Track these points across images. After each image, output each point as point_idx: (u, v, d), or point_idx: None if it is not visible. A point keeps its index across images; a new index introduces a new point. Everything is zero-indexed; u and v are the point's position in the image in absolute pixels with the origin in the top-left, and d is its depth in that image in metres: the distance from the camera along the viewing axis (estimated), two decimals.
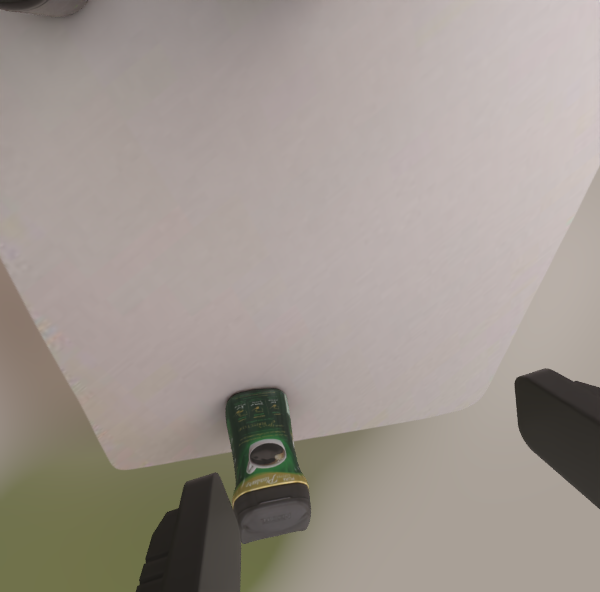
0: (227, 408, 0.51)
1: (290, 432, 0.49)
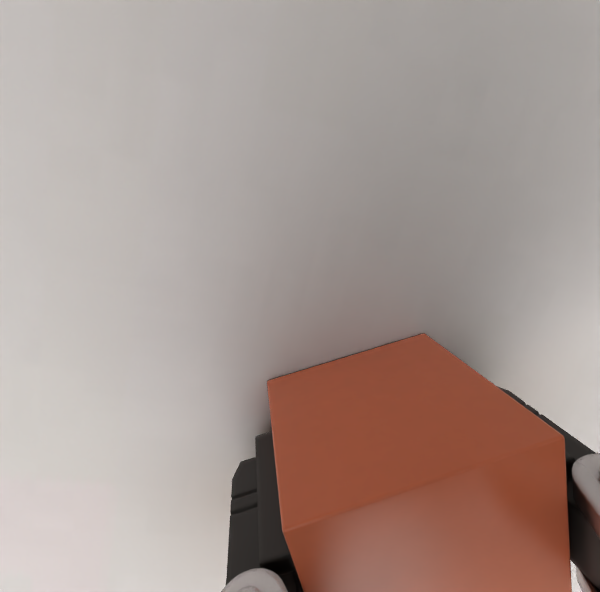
0: None
1: None
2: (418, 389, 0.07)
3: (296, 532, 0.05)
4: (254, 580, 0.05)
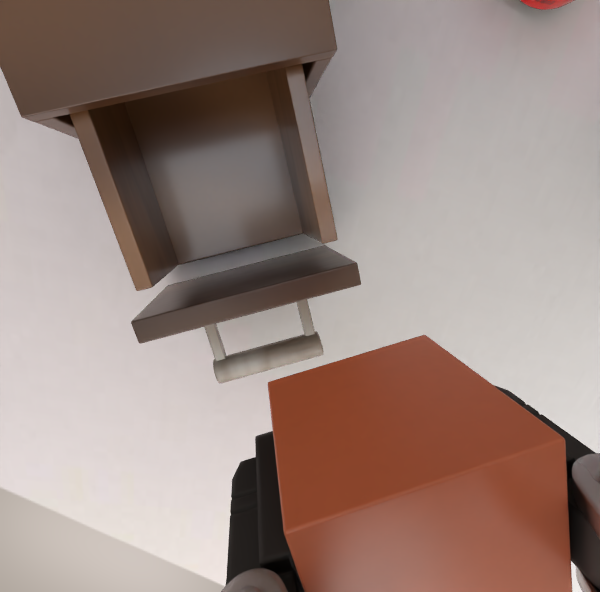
0: None
1: None
2: (419, 390, 0.07)
3: (298, 534, 0.05)
4: (254, 580, 0.05)
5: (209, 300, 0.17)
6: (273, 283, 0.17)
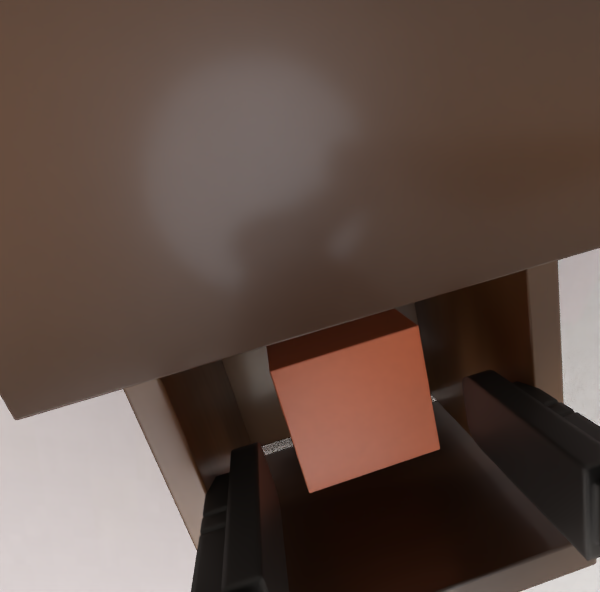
0: None
1: None
2: None
3: (277, 373, 0.10)
4: None
5: None
6: (456, 577, 0.10)
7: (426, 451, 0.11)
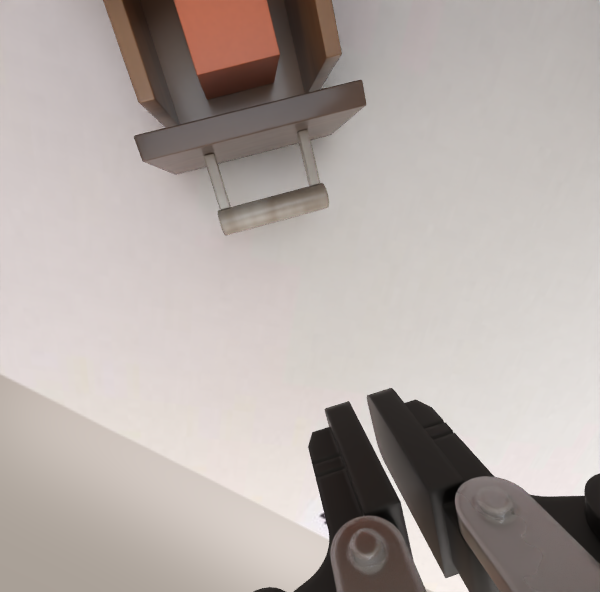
0: None
1: None
2: None
3: None
4: (366, 526, 0.06)
5: (213, 116, 0.17)
6: None
7: (271, 57, 0.19)
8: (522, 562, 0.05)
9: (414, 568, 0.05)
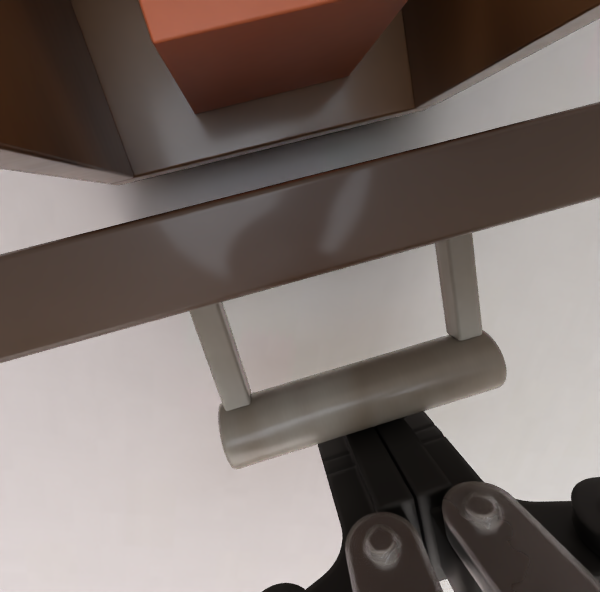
0: None
1: None
2: None
3: None
4: (380, 522, 0.06)
5: (202, 203, 0.04)
6: (454, 139, 0.04)
7: None
8: (506, 569, 0.05)
9: (430, 564, 0.05)
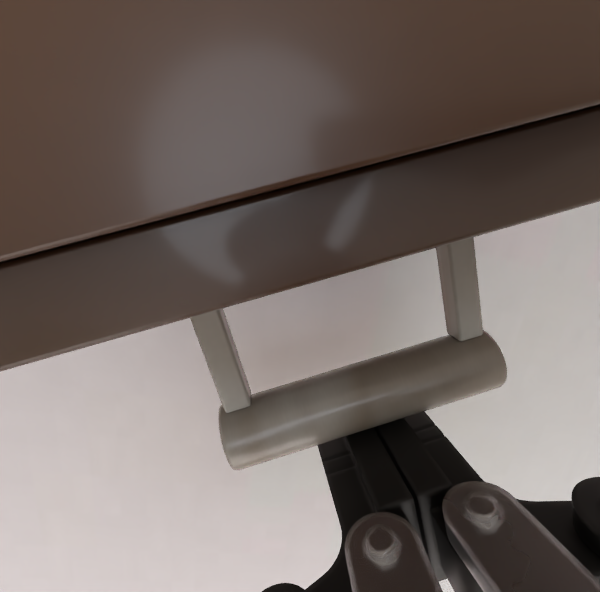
0: None
1: None
2: None
3: None
4: (380, 522, 0.06)
5: (201, 209, 0.04)
6: None
7: None
8: (507, 568, 0.05)
9: (430, 564, 0.05)
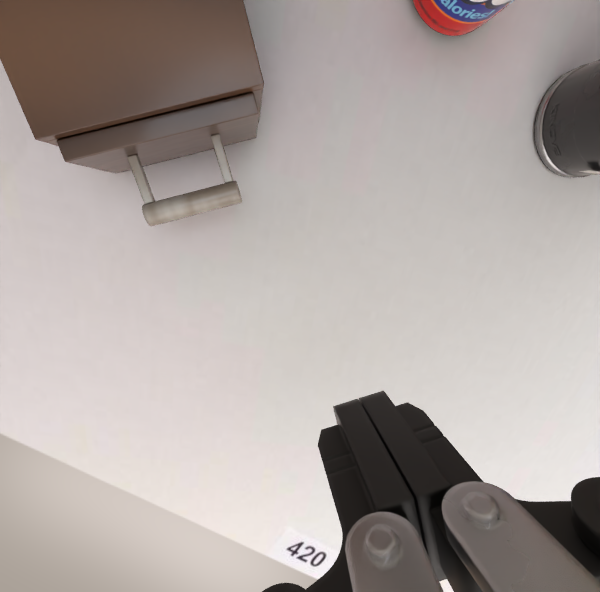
0: None
1: None
2: None
3: None
4: (380, 522, 0.06)
5: (124, 123, 0.20)
6: (180, 110, 0.20)
7: None
8: (506, 569, 0.05)
9: (430, 563, 0.05)
